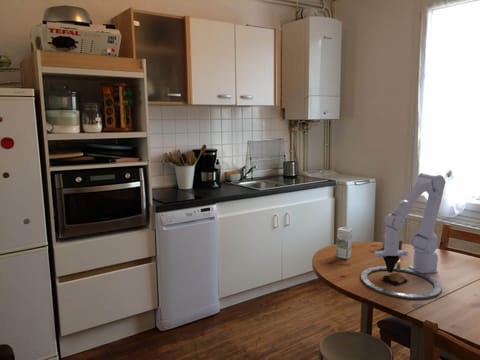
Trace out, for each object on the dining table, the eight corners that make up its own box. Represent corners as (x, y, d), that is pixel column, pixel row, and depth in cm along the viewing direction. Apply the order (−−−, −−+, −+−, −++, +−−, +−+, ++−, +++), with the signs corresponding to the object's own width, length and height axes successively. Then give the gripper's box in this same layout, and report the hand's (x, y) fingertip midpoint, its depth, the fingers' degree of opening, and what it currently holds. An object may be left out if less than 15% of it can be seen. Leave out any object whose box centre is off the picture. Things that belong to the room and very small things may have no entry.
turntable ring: (434, 270, 178) (435, 263, 178) (446, 304, 145) (447, 296, 145) (363, 260, 189) (363, 254, 188) (358, 291, 156) (359, 283, 155)
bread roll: (393, 275, 173) (393, 267, 173) (411, 282, 167) (411, 274, 166) (378, 281, 167) (379, 273, 167) (396, 288, 160) (397, 279, 160)
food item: (379, 247, 210) (381, 229, 208) (395, 247, 210) (396, 229, 208) (387, 256, 197) (389, 237, 195) (404, 256, 196) (405, 237, 195)
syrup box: (351, 256, 195) (352, 228, 193) (347, 260, 190) (349, 230, 188) (339, 254, 198) (341, 226, 196) (335, 257, 193) (337, 228, 191)
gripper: (401, 238, 175) (399, 267, 177) (371, 239, 173) (369, 269, 175) (411, 243, 168) (408, 273, 171) (380, 245, 166) (378, 275, 168)
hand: (389, 271), depth 172 cm, fingers closed
